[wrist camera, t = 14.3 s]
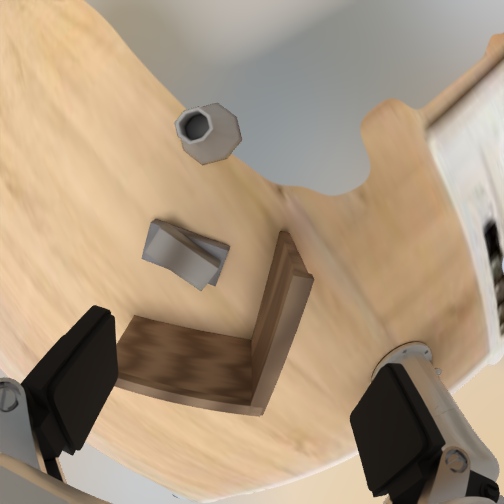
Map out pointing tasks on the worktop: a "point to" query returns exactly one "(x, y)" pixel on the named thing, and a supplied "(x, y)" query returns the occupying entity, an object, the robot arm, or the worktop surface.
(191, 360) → the brown wooden corner wall
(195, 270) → the offcut top
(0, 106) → the worktop surface
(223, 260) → the tray
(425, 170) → the worktop surface
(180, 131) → the flask
